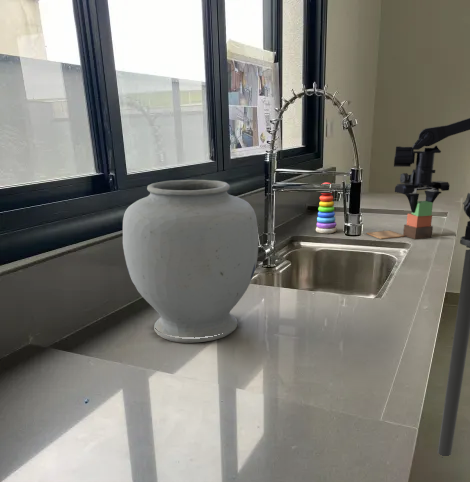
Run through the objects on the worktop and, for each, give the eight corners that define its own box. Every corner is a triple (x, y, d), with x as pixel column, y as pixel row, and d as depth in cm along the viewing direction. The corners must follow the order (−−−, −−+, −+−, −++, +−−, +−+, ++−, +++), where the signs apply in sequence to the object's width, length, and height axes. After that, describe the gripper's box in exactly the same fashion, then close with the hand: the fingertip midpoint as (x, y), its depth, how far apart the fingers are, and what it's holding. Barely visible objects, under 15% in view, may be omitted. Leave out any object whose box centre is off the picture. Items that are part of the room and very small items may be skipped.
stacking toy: (320, 229, 197) (321, 180, 191) (339, 230, 193) (341, 181, 187) (312, 233, 191) (313, 183, 184) (332, 234, 187) (334, 183, 180)
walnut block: (419, 233, 184) (420, 222, 183) (431, 237, 178) (432, 226, 177) (403, 235, 183) (404, 224, 181) (414, 239, 176) (416, 228, 175)
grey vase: (274, 311, 113) (273, 176, 102) (234, 362, 90) (228, 193, 79) (169, 301, 122) (158, 175, 111) (108, 345, 99) (87, 191, 88)
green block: (424, 213, 179) (425, 200, 177) (431, 215, 174) (432, 202, 173) (411, 214, 178) (412, 201, 177) (418, 216, 174) (419, 203, 172)
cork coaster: (389, 231, 190) (389, 230, 189) (405, 236, 181) (405, 235, 181) (366, 233, 187) (366, 232, 187) (381, 239, 178) (381, 238, 178)
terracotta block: (420, 223, 182) (421, 212, 181) (431, 226, 177) (432, 215, 176) (406, 224, 181) (407, 213, 179) (416, 227, 175) (417, 216, 174)
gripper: (432, 163, 181) (427, 206, 187) (387, 166, 176) (384, 210, 182) (453, 165, 171) (447, 211, 177) (406, 168, 166) (402, 215, 172)
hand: (419, 212), depth 177 cm, fingers closed on green block, 5 cm apart
